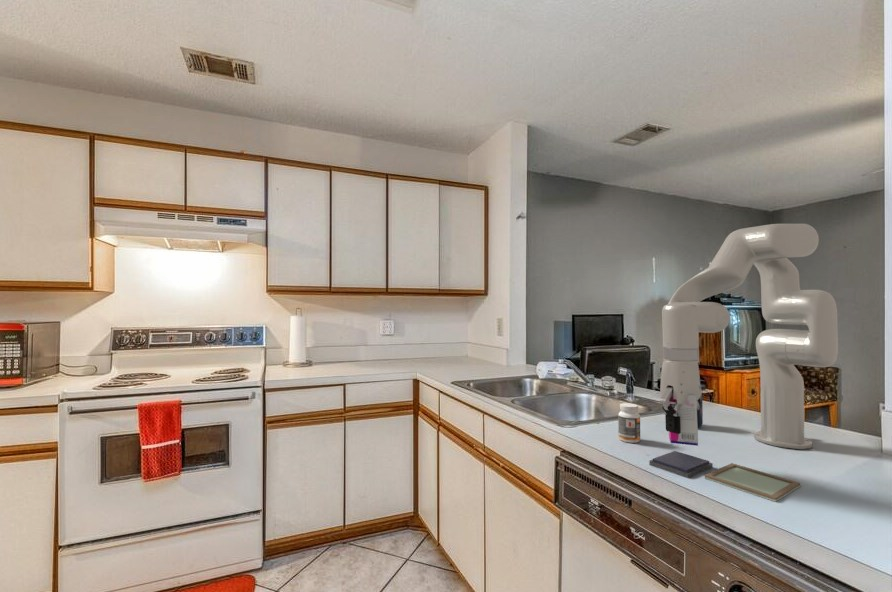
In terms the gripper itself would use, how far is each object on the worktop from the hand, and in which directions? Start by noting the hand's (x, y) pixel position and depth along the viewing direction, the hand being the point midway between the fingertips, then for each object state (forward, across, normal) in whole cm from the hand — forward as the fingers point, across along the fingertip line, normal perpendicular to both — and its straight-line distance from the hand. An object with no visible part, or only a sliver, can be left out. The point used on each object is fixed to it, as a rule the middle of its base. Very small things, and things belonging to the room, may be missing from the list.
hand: (682, 428), depth 99 cm
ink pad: (+9, +1, 0) cm, 9 cm away
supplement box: (+3, 0, 0) cm, 3 cm away
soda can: (+10, -35, -16) cm, 40 cm away
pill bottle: (+9, -6, -18) cm, 21 cm away
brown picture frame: (+9, -3, +13) cm, 16 cm away
